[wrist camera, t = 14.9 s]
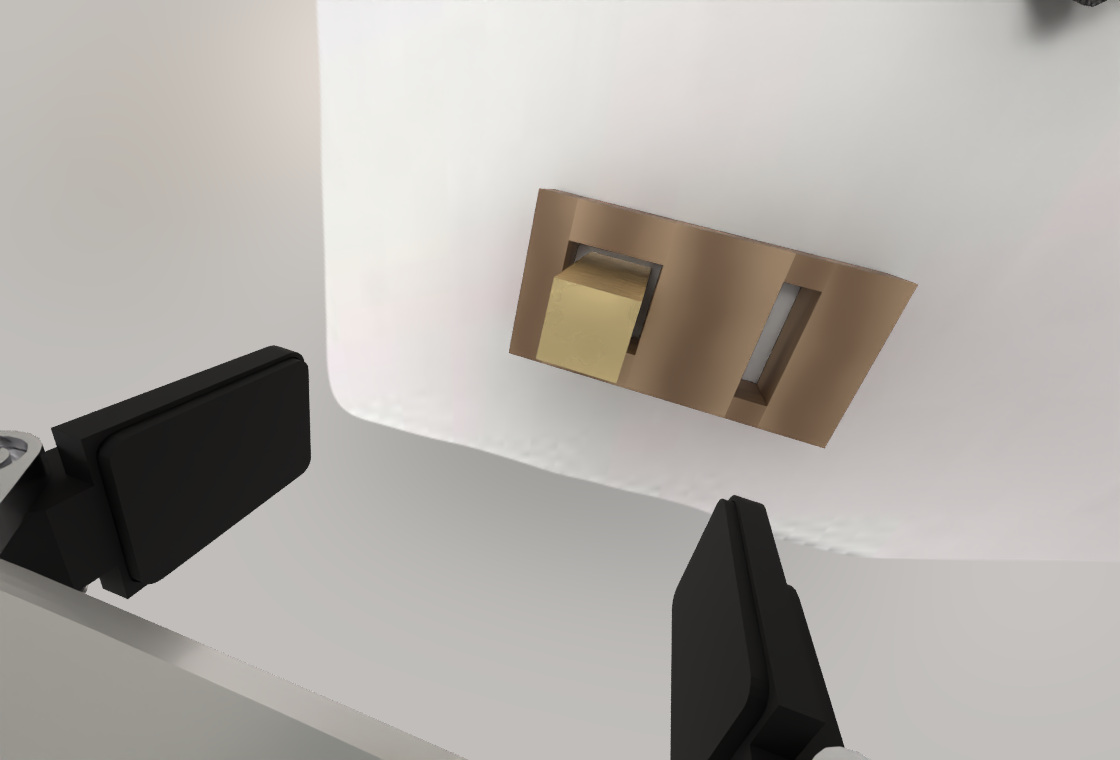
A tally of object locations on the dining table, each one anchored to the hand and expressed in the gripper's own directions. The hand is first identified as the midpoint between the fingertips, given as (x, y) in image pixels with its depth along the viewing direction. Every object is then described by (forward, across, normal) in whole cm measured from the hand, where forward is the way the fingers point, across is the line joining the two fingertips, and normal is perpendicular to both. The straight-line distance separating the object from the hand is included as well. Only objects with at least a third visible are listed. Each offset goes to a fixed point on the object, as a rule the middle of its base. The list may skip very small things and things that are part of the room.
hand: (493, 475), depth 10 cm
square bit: (+22, 0, 0) cm, 22 cm away
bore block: (+22, -5, 0) cm, 22 cm away
